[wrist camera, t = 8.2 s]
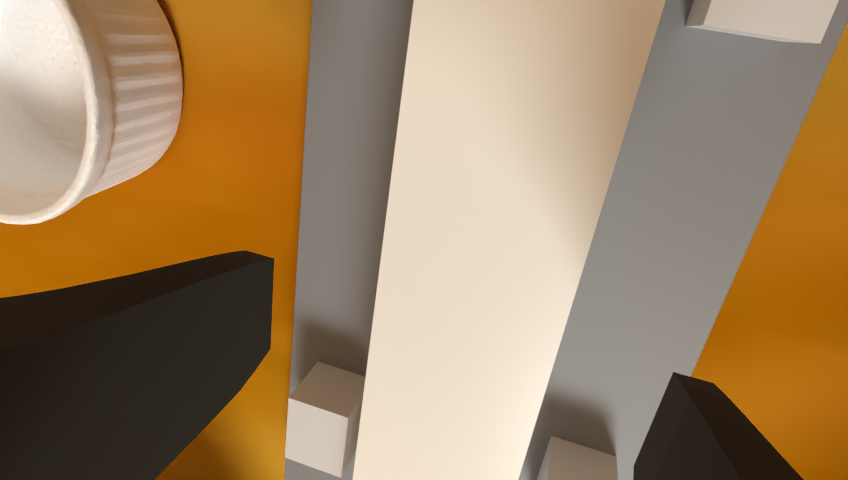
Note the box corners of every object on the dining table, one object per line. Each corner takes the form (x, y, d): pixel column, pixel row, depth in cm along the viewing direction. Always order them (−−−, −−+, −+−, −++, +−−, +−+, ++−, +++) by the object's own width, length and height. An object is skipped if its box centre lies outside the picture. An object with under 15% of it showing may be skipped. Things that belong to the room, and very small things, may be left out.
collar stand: (593, 554, 20) (595, 654, 17) (302, 450, 22) (255, 520, 19) (948, -285, 10) (1113, -430, 7) (361, -310, 12) (284, -427, 9)
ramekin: (-14, 121, 21) (-154, 142, 17) (-7, -132, 17) (-186, -182, 13) (176, 228, 20) (76, 276, 16) (230, -12, 16) (116, -25, 12)
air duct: (493, 521, 18) (470, 642, 15) (384, 482, 19) (336, 588, 16) (718, -243, 10) (794, -400, 6) (503, -256, 11) (460, -403, 7)
